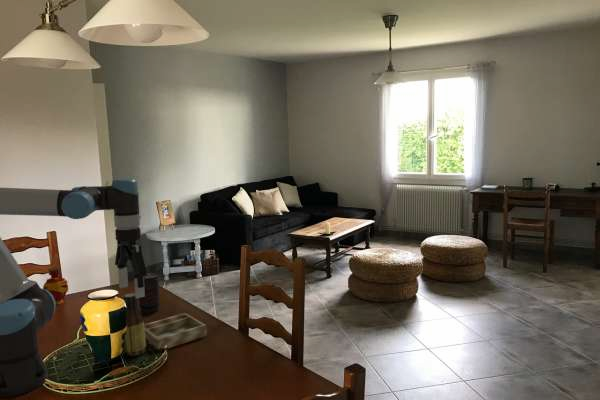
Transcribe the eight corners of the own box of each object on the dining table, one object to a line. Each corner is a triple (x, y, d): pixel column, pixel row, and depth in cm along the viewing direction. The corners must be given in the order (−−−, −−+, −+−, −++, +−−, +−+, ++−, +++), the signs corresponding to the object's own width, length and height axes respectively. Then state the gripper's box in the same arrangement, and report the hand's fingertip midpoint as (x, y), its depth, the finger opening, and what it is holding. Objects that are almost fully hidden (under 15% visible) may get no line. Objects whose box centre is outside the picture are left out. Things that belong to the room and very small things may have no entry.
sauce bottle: (149, 349, 156) (145, 291, 153) (141, 357, 150) (137, 298, 147) (130, 348, 156) (126, 291, 154) (121, 357, 150) (117, 297, 148)
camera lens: (149, 315, 186) (147, 279, 184) (135, 312, 190) (132, 276, 188) (164, 309, 192) (162, 274, 190) (150, 306, 196) (148, 271, 195)
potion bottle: (38, 307, 198) (35, 272, 196) (52, 298, 208) (49, 266, 206) (62, 306, 198) (59, 272, 196) (75, 298, 208) (72, 265, 206)
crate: (158, 351, 154) (157, 339, 153) (139, 336, 166) (139, 325, 166) (207, 335, 165) (206, 325, 165) (186, 322, 178) (185, 312, 177)
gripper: (155, 231, 141) (159, 298, 144) (124, 221, 160) (128, 281, 163) (131, 234, 136) (135, 304, 139) (102, 224, 155) (106, 285, 158)
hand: (131, 292), depth 151 cm, fingers open, 13 cm apart
